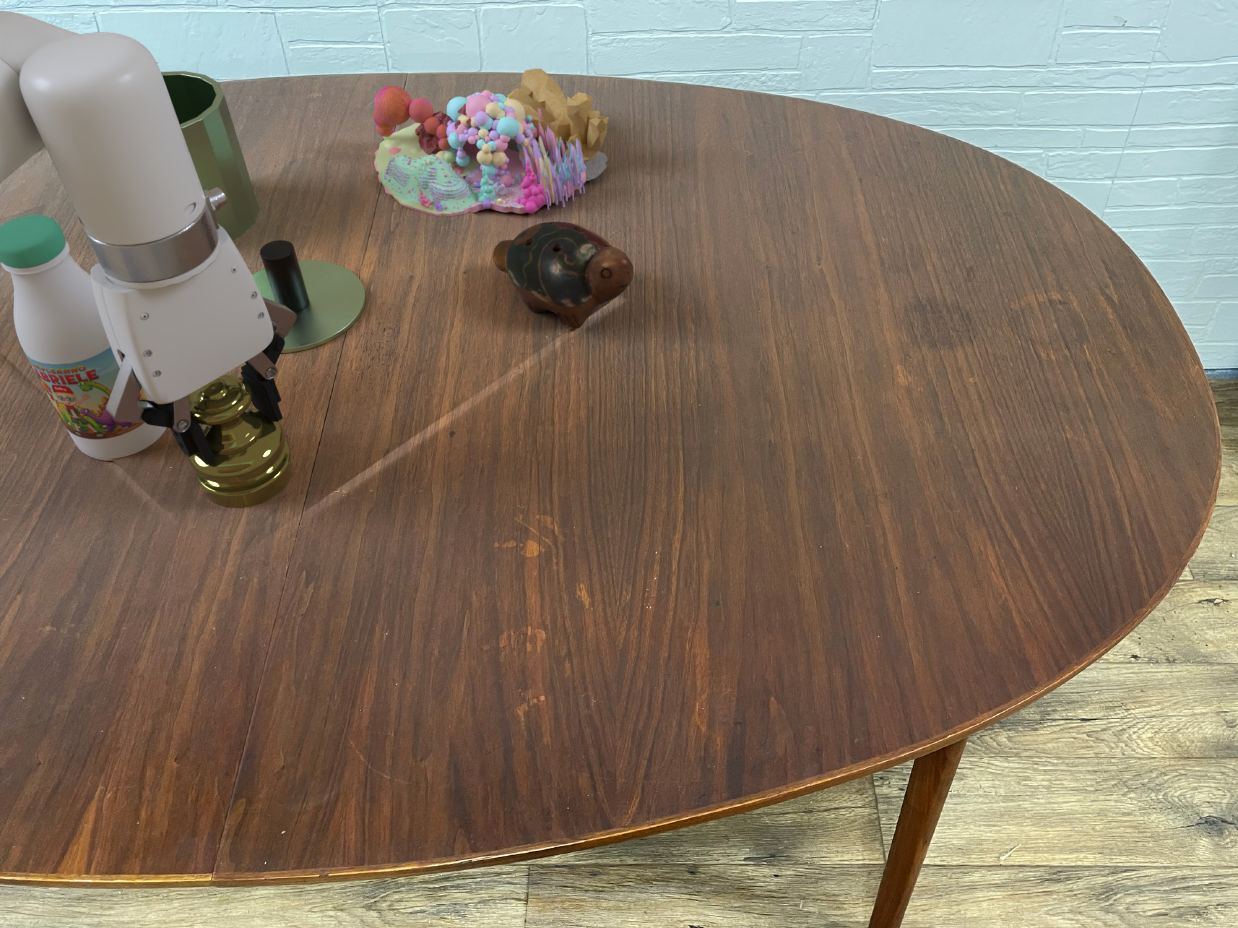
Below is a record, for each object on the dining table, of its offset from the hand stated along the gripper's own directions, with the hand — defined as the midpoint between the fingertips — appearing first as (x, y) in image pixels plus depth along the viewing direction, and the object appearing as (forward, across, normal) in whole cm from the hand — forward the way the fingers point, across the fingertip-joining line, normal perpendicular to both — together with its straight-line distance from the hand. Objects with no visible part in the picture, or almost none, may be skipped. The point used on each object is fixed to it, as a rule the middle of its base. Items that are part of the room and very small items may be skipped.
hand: (234, 431), depth 80 cm
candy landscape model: (+5, -45, -20) cm, 49 cm away
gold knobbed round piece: (+5, 0, 0) cm, 5 cm away
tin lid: (+5, -15, -15) cm, 22 cm away
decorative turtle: (+5, -33, +3) cm, 33 cm away
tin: (+5, -17, -35) cm, 39 cm away
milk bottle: (+5, +4, -13) cm, 14 cm away
